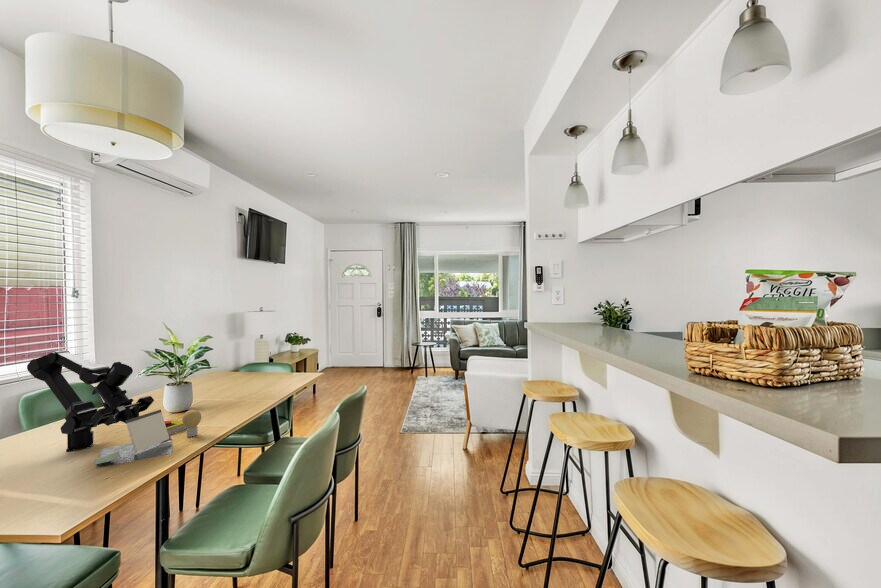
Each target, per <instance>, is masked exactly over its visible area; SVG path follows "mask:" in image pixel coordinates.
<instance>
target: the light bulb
mask: <svg viewBox="0 0 881 588" xmlns="http://www.w3.org/2000/svg"><path fill="white" fill-rule="evenodd" d="M201 420H202V413H201V412H200V411H199V410H198V409H197V410H196V409H190V410H188V411H186V412H184V414H183V415H182V417H181V421H182V422H183V424H184V425H185V426H186V427H187V429H185V430H186V432H185V433H186V436H187V437H189V438H192V436H193V437H196V436H197V435H198V434H199V432H198V425H199V424H200V423H201ZM195 435H196V436H195Z"/></svg>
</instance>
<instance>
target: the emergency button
mask: <svg viewBox="0 0 881 588" xmlns="http://www.w3.org/2000/svg"><path fill="white" fill-rule="evenodd" d="M164 422H165V425H166V429H167V432H168V433H170V434H171V435H174V434H176V433H179V432H181V431H180V430H182V431H184V430H183V429H185V430H186V428H187V427H186V426H185V425H184V424H183V422H182V420H180V419H179V420H178V419H170V420H164ZM178 431H179V432H178Z"/></svg>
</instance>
